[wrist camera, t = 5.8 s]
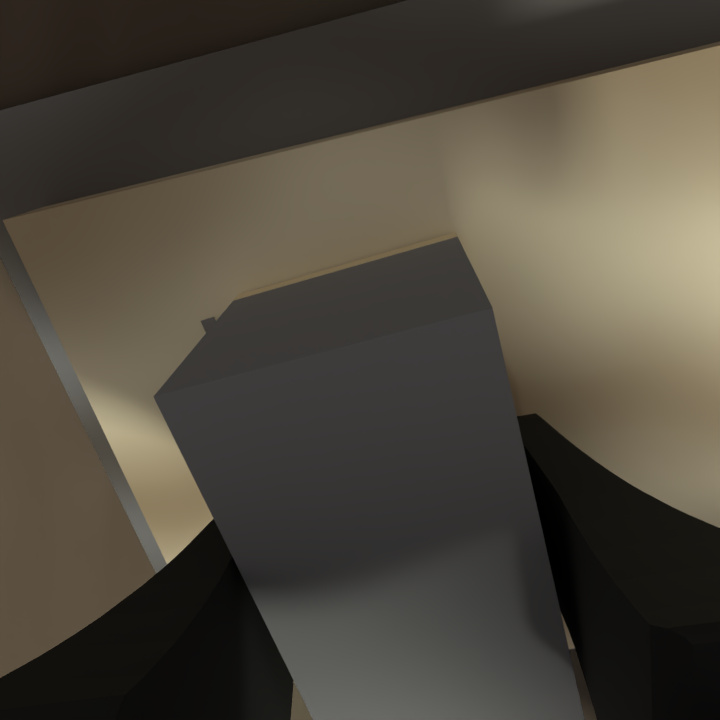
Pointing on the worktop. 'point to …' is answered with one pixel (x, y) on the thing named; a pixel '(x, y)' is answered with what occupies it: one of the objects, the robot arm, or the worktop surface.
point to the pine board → (394, 218)
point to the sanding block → (379, 490)
